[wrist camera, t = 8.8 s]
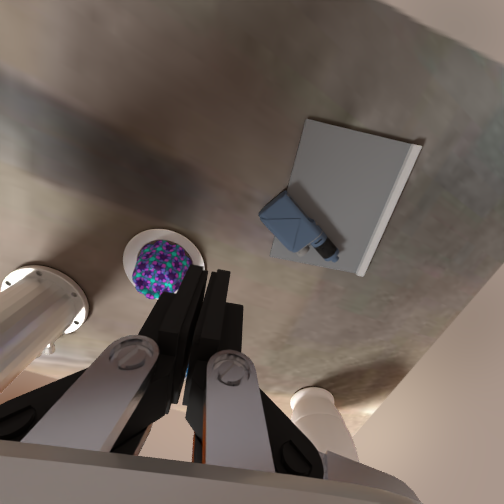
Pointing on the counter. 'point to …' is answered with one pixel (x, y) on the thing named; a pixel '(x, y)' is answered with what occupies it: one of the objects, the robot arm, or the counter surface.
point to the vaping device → (296, 228)
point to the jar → (322, 422)
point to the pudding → (159, 261)
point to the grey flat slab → (347, 190)
